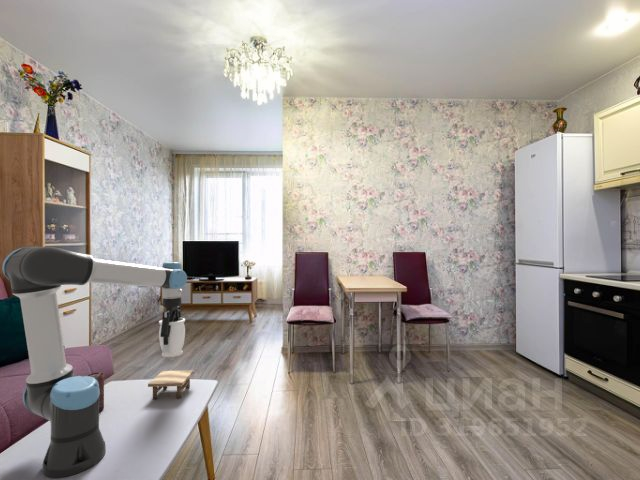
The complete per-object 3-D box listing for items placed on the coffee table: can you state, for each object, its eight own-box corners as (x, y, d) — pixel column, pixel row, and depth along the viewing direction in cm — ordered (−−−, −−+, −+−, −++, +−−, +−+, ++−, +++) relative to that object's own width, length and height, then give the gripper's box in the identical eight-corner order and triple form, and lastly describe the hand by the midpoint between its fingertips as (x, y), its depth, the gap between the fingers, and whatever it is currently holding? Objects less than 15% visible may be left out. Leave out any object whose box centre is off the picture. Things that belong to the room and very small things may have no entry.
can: (108, 407, 130) (108, 371, 130) (95, 415, 124) (95, 378, 124) (94, 406, 131) (94, 371, 131) (80, 414, 124) (81, 377, 124)
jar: (177, 348, 150) (177, 316, 150) (190, 353, 144) (190, 319, 144) (154, 355, 141) (154, 320, 142) (166, 360, 135) (166, 324, 135)
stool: (182, 400, 136) (182, 383, 136) (147, 400, 135) (147, 384, 135) (193, 385, 150) (193, 370, 150) (162, 386, 149) (162, 370, 149)
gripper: (170, 301, 132) (170, 356, 131) (189, 293, 155) (190, 339, 154) (151, 302, 131) (151, 356, 131) (173, 293, 154) (173, 340, 154)
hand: (172, 347), depth 143 cm, fingers closed on jar, 10 cm apart
